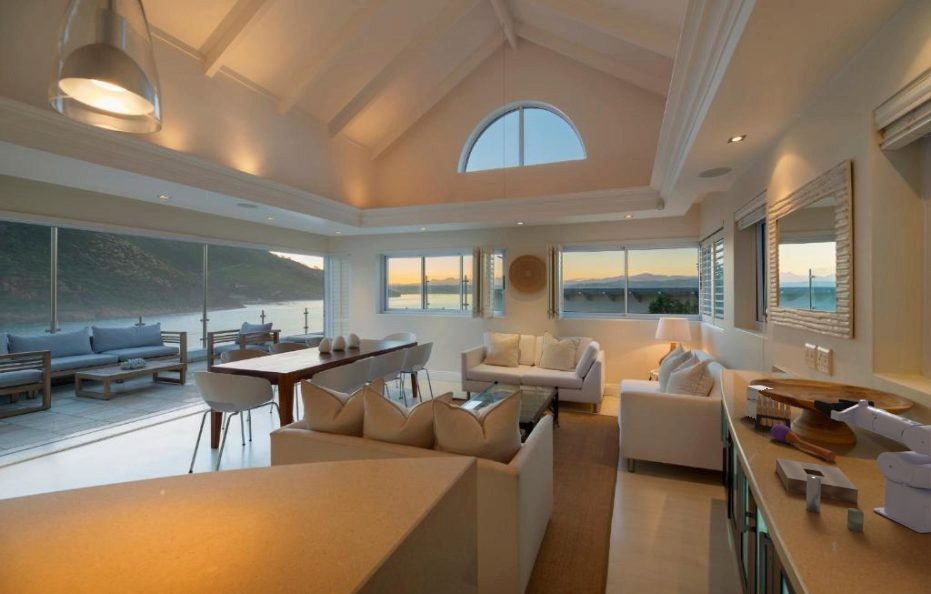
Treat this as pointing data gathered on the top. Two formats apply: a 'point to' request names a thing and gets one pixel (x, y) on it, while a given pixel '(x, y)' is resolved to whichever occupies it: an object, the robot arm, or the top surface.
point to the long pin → (813, 493)
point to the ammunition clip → (772, 414)
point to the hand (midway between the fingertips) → (827, 403)
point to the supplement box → (755, 400)
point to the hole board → (831, 477)
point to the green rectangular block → (855, 519)
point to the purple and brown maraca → (799, 441)
